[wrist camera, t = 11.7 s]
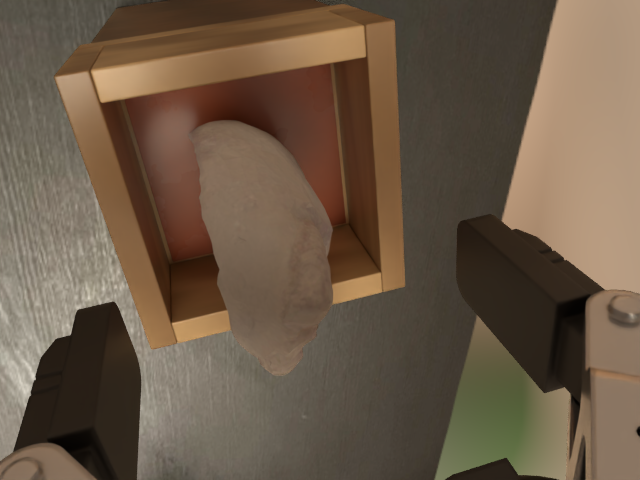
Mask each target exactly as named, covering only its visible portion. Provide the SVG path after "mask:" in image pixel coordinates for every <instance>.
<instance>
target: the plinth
mask: <svg viewBox="0 0 640 480" xmlns="http://www.w3.org/2000/svg"><path fill="white" fill-rule="evenodd" d="M327 6H330V5H327V4H324V3H321V2H318V1H316V0H167V1H161V2H154V3H147V4H140V5H133V6H127V7H120V8H116V10H115V11H114V12H113V14H112V15H111V16H110V18H109V19H108V21H107V22H106V23H105V25H104V26H103V27H102V29H101V30H100V31H99V33H98V34H97V35H96V37H95V38H94V39H93V41H92V42H91V43H97V42H103V41H109V40H116V39H122V38H129V37H135V36H141V35H148V34H154V33H161V32H167V31H173V30H180V29H186V28H193V27H199V26H205V25H212V24H218V23H225V22H231V21H237V20H244V19H250V18H257V17H263V16H269V15H276V14H282V13H289V12H295V11H301V10H308V9H314V8H321V7H327Z"/></svg>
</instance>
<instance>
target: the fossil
mask: <svg viewBox="0 0 640 480" xmlns="http://www.w3.org/2000/svg"><path fill="white" fill-rule="evenodd" d="M188 135H189V139H190V140H191V141H192V143H193V145H194V149H195V153H196V158H197V162H198V166H199V169H200V178H199V182H200V186H201V193H200V196H199V200H200V204H201V211H202V219H203V221H204V223H205V225H206V228H207V231H208V234H209V236H210V239H211V242H212V247H213V253H214V256H215V259H216V262H217V265H218V267H219V269H220V270H219V273H218V278H217V285H218V287H219V289H220V292H221V295H222V297H223V300H224V303H225V306H226V308H227V311H228V315H229V321H230V327H231V330H232V333H233V335H234V337H235V338H236V340H237V342H238V343H239V344H240V345H241V346H242V347H243V348H245V349H246V350H247V351H248V352H249V353H251V354H252V355H253V356H256V357H257V358H258V360H259V362H260V364H261V365H262V366H263V367H264V368H265V369H266V370H268V371H269V372H270V373H272V374H273V375H285V374H287V373H289V372H291V371H292V370H293V369H294V367H295V366H296V365H297V363H298V362H299V361H300V360H301V359H302V357H303V350H302V348H303V346H304V345H305V344H306V343H308V342H310V341H311V340H313V339H314V338H315V337H316V336H317V334H316V330H317V328H318V324H319V323H320V321H321V320H322V319H323V318H324V317H325V316H326V314H327V313H328V311H329V309H330V308H331V306H332V303H333V288H332V283H331V273H330V266H329V263H328V259H327V256H328V252H329V247H330V241H331V236H332V232H333V229H332V226H331V223H330V220H329V217H328V215H327V213H326V211H325V208H324V206H323V205H322V203H321V201H320V200H319V198H318V197H317V195H316V193H315V192H314V190H313V189H312V187H311V186H310V184H309V183H308V181H307V180H306V178H305V176H304V173H303V171H302V169H301V167H300V166H299V164H298V162H297V161H296V159H295V158H294V156H293V155H292V154H291V153H290V152H289V151H288V150H287V149H286V148H285V146H284V145H282V144H281V143H280V142H279V141H278V140H277V139H276V138H275V137H273V136H272V135H270V134H268V133H267V132H265V131H262V130H260V129H258V128H255V127H253V126H250V125H247V124H245V123H242V122H240V121H236V120H219V121H213V122H208V123H206V124H203V125H201V126H199V127H197V128H196V129H194V130H193V131H192V132H190V133H189V134H188Z"/></svg>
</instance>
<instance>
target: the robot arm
mask: <svg viewBox="0 0 640 480" xmlns="http://www.w3.org/2000/svg"><path fill="white" fill-rule="evenodd" d="M456 278H457V284H458V287H459V290H460V293H461V295H462V297H463V298H464V300H465V301H466V302H467V303H468V305H469V306H470V307H471V308H472V309H473V310H474V312H475V313H476V314H477V315H478V316H479V317H480V318H481V320H482V321H483V322H484V323H485V324H486V326H487V327H488V328H489V329H490V330H491V332H492V333H493V334H494V335H495V336H496V337H497V339H498V340H499V341H500V342H501V343H502V344H503V346H504V347H505V348H506V349H507V350H508V351H509V353H510V354H511V355H512V356H513V357H514V358H515V360H516V361H517V362H518V363H519V364H520V365H521V367H522V368H523V369H524V370H525V371H526V372H527V374H528V375H529V376H530V377H531V378H532V379H533V381H534V382H535V383H536V384H537V385H538V387H539V388H540V389H541V390H542V391H543V392H544V393H547V392H550V391H553V390H557V389H560V388H563V387H565V388H566V389H567V390H568V391H569V392H570V399H569V405H568V433H567V464H566V466H567V467H566V480H640V294H638V293H635V292H631V291H626V290H604V289H603V288H602V287H601V286H599V285H598V284H597V283H596V282H594V281H593V280H592V279H590V278H589V277H588V276H587V275H585V274H584V273H583V272H581V271H580V270H579V269H578V268H576V267H575V266H574V265H572V264H571V263H570V262H569V261H567V260H564V258H563V257H562V256H561V255H560V254H558V253H557V252H556V251H552V249H551V247H549V246H548V245H546V244H545V243H544V242H543V241H541V240H540V239H539V238H537V237H536V236H533V235H531V234H528V233H526V232H523V231H520V230H518V229H514V230H511V229H510V228H509V227H508V226H506V225H505V224H504V223H503V222H502V221H500V220H499V219H498V218H497V217H495V216H494V215H492V214H489V215H484V216H480V217H476V218H472V219H467V220H463V221H461V222H460V223H459V224H458V228H457V262H456ZM35 377H36V380H34V383H33V386H32V390H31V396H29V400H28V403H27V407H26V410H25V413H24V417H23V420H22V424H21V427H20V430H19V434H18V437H17V441H16V444H15V447H14V451H13V453H11V454H10V455H8V456H7V457H5V458H4V459H2V460H1V461H0V480H137V461H138V440H139V419H140V399H141V373H140V367H139V362H138V359H137V355H136V353H135V350H134V347H133V345H132V342H131V340H130V337H129V334H128V332H127V329H126V326H125V324H124V321H123V318H122V316H121V313H120V311H119V308H118V306H117V305H116V303H115V302H109V303H105V304H101V305H96V306H92V307H88V308H84V309H79V310H77V312H76V315H75V320H74V324H73V328H72V333H71V335H70V336H66V337H62V338H58V339H56V340H55V341H54V342H53V343H52V345H51V346H50V347H49V348H48V350H47V351H46V352H45V353H44V354H43V356H42V357H41V359H40V362H39V366H38V369H37V373H36V376H35ZM446 480H557V479H553V478H547V477H541V476H528V475H518V474H517V473H516V471H515V470H514V468H513V467H512V465H511V464H510V462H509V461H508V459H507V458H504V459H501V460H498V461H495V462H491V463H488V464H485V465H482V466H479V467H476V468H472V469H470V470H466V471H463V472H460V473H457V474H453V475H452V476H450V477H449V478H447V479H446Z"/></svg>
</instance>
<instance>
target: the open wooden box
mask: <svg viewBox="0 0 640 480" xmlns="http://www.w3.org/2000/svg"><path fill="white" fill-rule="evenodd" d="M54 79H55V82H56V85H57V88H58V90H59V93H60V96H61V99H62V102H63V104H64V107H65V110H66V113H67V116H68V118H69V121H70V124H71V127H72V130H73V132H74V135H75V138H76V141H77V143H78V146H79V149H80V152H81V155H82V157H83V160H84V163H85V166H86V169H87V171H88V174H89V177H90V180H91V183H92V185H93V188H94V191H95V194H96V197H97V199H98V202H99V205H100V208H101V210H102V213H103V216H104V219H105V222H106V224H107V227H108V230H109V233H110V236H111V238H112V241H113V244H114V247H115V250H116V252H117V255H118V258H119V261H120V263H121V266H122V269H123V272H124V275H125V277H126V280H127V283H128V286H129V289H130V291H131V294H132V297H133V300H134V303H135V305H136V308H137V311H138V314H139V317H140V319H141V322H142V325H143V328H144V330H145V333H146V336H147V339H148V342H149V344H150V347H151V349H157V348H161V347H165V346H169V345H173V344H176V343H177V342H178V343H181V342H185V341H189V340H193V339H197V338H201V337H205V336H209V335H213V334H217V333H221V332H225V331H229V330H231V327H230V321H229V315H228V311H227V308H226V306H225V303H224V300H223V297H222V295H221V292H220V289H219V287H218V285H217V278H218V273H219V270H220V269H219V267H218V265H217V262H216V259H215V256H214V253H213V247H212V242H211V239H210V236H209V234H208V231H207V228H206V225H205V223H204V221H203V219H202V211H201V204H200V200H199V196H200V193H201V186H200V182H199V178H200V169H199V166H198V162H197V158H196V153H195V149H194V145H193V143H192V141H191V140H190V139H189V135H188V134H189V133H190V132H192V131H193V130H194V129H196V128H197V127H199V126H201V125H203V124H206V123H208V122H213V121H219V120H236V121H240V122H242V123H245V124H247V125H250V126H253V127H255V128H258V129H260V130H262V131H265V132H267V133H268V134H270V135H272V136H273V137H275V138H276V139H277V140H278V141H279V142H280V143H281V144H282V145H284V146H285V148H286V149H287V150H288V151H289V152H290V153H291V154H292V155H293V156H294V158H295V159H296V161H297V162H298V164H299V166H300V167H301V169H302V171H303V173H304V176H305V178H306V180H307V181H308V183H309V184H310V186H311V187H312V189H313V190H314V192H315V193H316V195H317V197H318V198H319V200H320V201H321V203H322V205H323V206H324V208H325V211H326V213H327V215H328V217H329V220H330V223H331V226H332V229H333V232H332V236H331V241H330V247H329V252H328V256H327V259H328V263H329V266H330V273H331V283H332V288H333V303H332V305H333V304H337V303H341V302H345V301H349V300H353V299H357V298H361V297H365V296H369V295H373V294H377V293H381V292H382V291H383V292H385V291H389V290H393V289H397V288H401V287H404V286H405V270H404V245H403V219H402V194H401V168H400V143H399V118H398V92H397V67H396V41H395V21H394V20H392V19H389V18H386V17H383V16H380V15H377V14H373V13H370V12H367V11H364V10H361V9H358V8H355V7H351V6H348V5H345V4H340V5H333V6H327V7H321V8H314V9H308V10H301V11H295V12H289V13H282V14H276V15H269V16H263V17H257V18H250V19H244V20H237V21H231V22H225V23H218V24H212V25H205V26H199V27H193V28H186V29H180V30H173V31H167V32H161V33H154V34H148V35H141V36H135V37H129V38H122V39H116V40H109V41H103V42H97V43H90V44H84V45H80V46H79V47H78V48H77V49H76V50H75V51H74V53H73V54H72V55H71V56H70V57H69V59H68V60H67V61H66V62H65V63H64V65H63V66H62V67H61V68H60V69H59V71H58V72H57V73H56V74H55V75H54Z"/></svg>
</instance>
